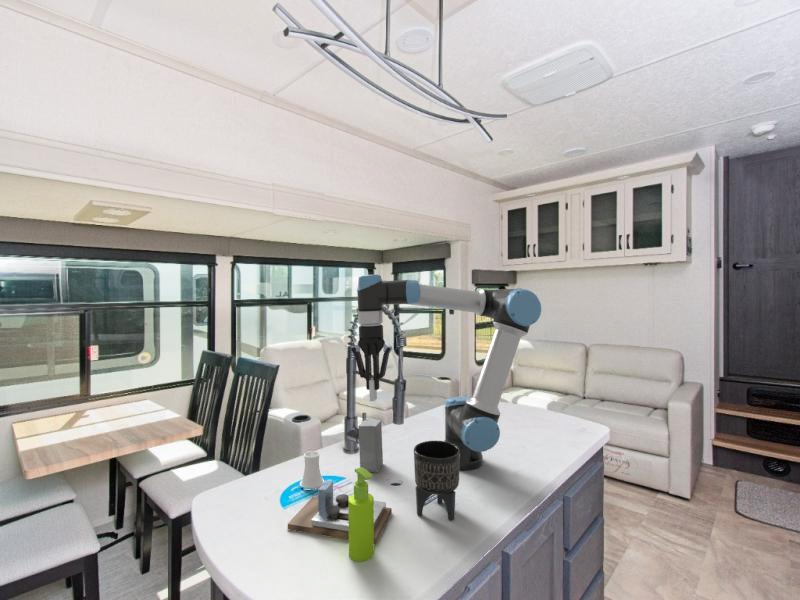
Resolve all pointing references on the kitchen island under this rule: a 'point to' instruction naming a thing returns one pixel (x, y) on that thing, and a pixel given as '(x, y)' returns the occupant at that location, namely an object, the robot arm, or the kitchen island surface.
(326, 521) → the slider knob panel
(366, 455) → the skincare box
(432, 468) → the planter
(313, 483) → the salt shaker
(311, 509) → the board
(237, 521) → the kitchen island surface
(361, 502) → the soap dispenser
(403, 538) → the kitchen island surface
